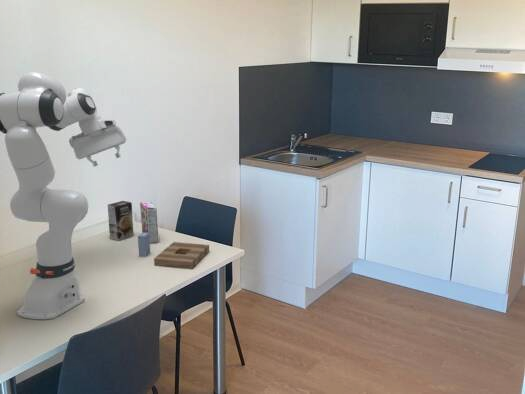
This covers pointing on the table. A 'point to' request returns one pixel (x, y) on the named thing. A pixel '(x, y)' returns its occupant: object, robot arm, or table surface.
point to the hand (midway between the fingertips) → (107, 161)
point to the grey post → (144, 244)
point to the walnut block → (181, 255)
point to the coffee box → (120, 220)
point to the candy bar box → (149, 220)
